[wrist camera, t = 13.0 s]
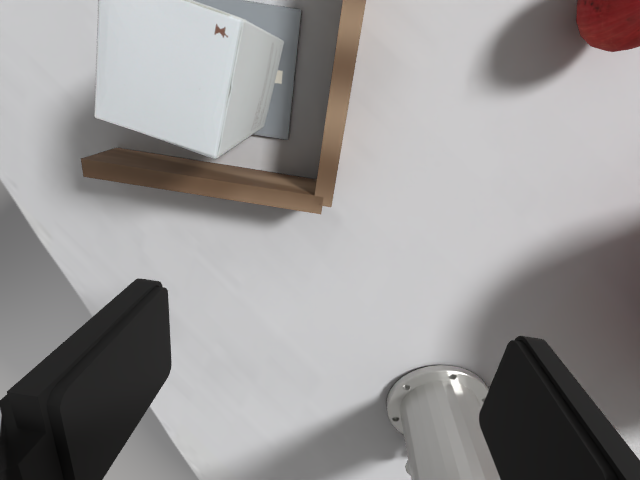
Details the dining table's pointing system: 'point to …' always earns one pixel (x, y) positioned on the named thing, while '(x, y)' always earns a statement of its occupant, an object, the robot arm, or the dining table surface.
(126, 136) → the dining table surface
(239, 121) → the supplement box
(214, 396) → the dining table surface
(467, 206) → the dining table surface
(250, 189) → the corner arena
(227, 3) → the pad
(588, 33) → the red oval fruit
